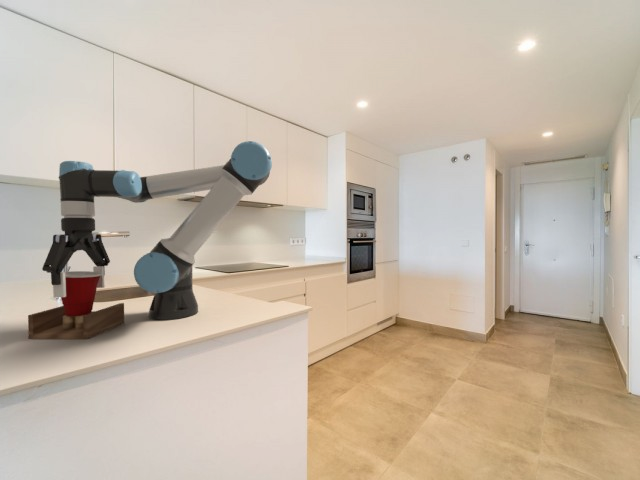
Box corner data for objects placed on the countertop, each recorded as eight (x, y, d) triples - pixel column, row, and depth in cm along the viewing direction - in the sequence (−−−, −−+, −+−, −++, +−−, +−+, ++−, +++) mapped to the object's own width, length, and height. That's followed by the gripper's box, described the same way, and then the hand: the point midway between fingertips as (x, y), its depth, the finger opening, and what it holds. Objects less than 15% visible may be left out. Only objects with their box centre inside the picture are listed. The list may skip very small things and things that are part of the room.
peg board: (124, 323, 93) (124, 303, 92) (88, 339, 79) (87, 315, 78) (73, 322, 93) (73, 303, 93) (28, 338, 79) (28, 315, 79)
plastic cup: (96, 316, 83) (95, 273, 82) (47, 321, 79) (46, 275, 79) (108, 307, 93) (107, 269, 93) (64, 311, 89) (64, 270, 89)
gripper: (98, 219, 98) (101, 284, 98) (20, 215, 73) (24, 302, 73) (121, 219, 98) (123, 284, 98) (50, 214, 73) (54, 301, 73)
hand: (81, 292), depth 86 cm, fingers open, 13 cm apart
